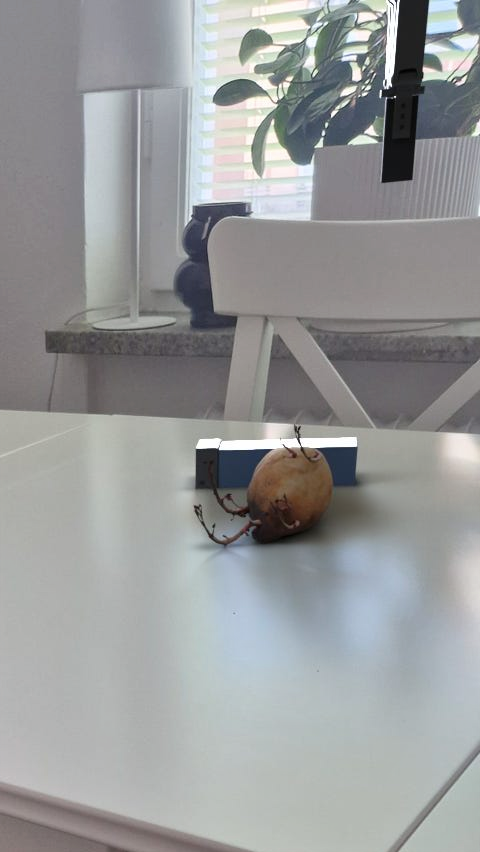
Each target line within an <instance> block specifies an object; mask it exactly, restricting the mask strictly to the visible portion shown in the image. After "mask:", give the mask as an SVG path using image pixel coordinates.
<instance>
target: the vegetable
mask: <svg viewBox="0 0 480 852" xmlns="http://www.w3.org/2000/svg"><path fill="white" fill-rule="evenodd" d="M301 428H302V425H299V426H297V425H296V424H295V423H294V424H293V430H294V434H295V439H296V440H297V442H298V443H299V445H300V447H296V446H294V447H287V446H285V444H284V443H282V440H283V439H282V437H280V439H279V440H280V442H281V444H282V446H284V447H278V448H275V449H273V450H272V451H270V452H269V453H268V454H267V455H266V456H265V457H264V458H263V459H262V460H261V462H260V463H259V464H258V465H257V467H256V469H255V471H254V474H253V478H252V480H251V482H250V484H249V486H248V488H247V493H246V506H240V505H238V504H236V503H235V501H234V498H233V497H232V495H233V493H230V492H228V493H225V494H224V495H223V497H222V498H221V496H220V493H219V491H218V488H216V485H215V481H214V478H213V471H212V464H213V463H214V460H212V461H210V462H209V467H208V466H207V465H206V464H207V463H208V462H206V461H202V463H204V464H205V466H206V467H207V469H208V470H209V475H208V479H210V478H211V483H212V485H213V488H212V487H211V486H210V485H209V484H206V483H205V482H204V481H203V480H201V481H200V483H199V485H208V486H210V487H211V488H212V489H211V490H212V492H213V496H215V499H216V501H217V503H218V504H219V506H220V508H222V509H223V510H224V512H225V513H227V514H230V515H232V518H231V519H230V520H229V521H230V522H233V520H234V519H235V516H239V517H240V518H244V519H245V518H247V515H248V517H249V518H250V519H249V520H248V522H247V523H246V524H245V525H244V526H243V527H242V528H241V529H240V530H239V531H238V532H237V533H236V534H234V535H233V536H229V537H228V536H227V535H225V534H222V537H223V538H225V539H219V538H217V537H216V536H215V535H214V533H215V528H216V523H213V524H212V526H211V528H212V532H210V530H209V529H208V527H207V525H206V522H205V521H204V518H203V507H202V506H203V505H202V504H201V503H199V504H198V505H195V504H194V505H192V506H193V508H194V509H193V511H194V513H195V515H196V518H197V519H198V521H199V522H200V524H201V525H202V527H203V529H204V530H205V532H206V534H207V537H208V538H209V539H210V540H211V541H212V542H214V543H216V544H218V545H222V546H224V547H225V548H226V547H227V546H228V545H230V544H232V543H233V542H235V541H236V540H238V539H239V538H240V537H242V536H243V535H244V534H245V536H246V537H250V534H249V532H250V529H251V528H252V527H254V528H253V529H252V530H251V537H252V539H253V540H254V541H256V542H257V543H258V544H269V543H270V542H272V541H274V540H275V539H277V538H282V537H287V536H291V535H295V534H299V533H302V532H304V531H306V530H308V529H309V528H311V527H313V525H315V524H316V523H317V522H318V521H320V519H321V518H322V517H323V515H324V513H325V512H326V510H327V508H328V506H329V504H330V502H331V498H332V496H333V490H334V486H333V480H332V474H331V470H330V468H329V465H328V463H327V461H326V459H325V457H324V456H323V454H322V453H321V452H320V451H318V450H317V449H315V448H313V447H310V446H302V443H301V440H300V439H302V438H301V433H300V431H301ZM210 468H211V469H210ZM225 499H226V501H229V502H230V501H231V502H232V504H233V505H234V506H235V507H236V508H239V509H232V508H229V507H228V506H226V504H225V501H224V500H225Z"/></svg>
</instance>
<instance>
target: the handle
mask: <svg viewBox="0 0 480 852" xmlns="http://www.w3.org/2000/svg"><path fill="white" fill-rule="evenodd" d="M281 440H282V443H284V444H285V446H287V447H294V446H296V447H300V445H299V443H298V442H297V440H296V438H293V439H292V438H291V439H281ZM300 440H301V443H302V446H310V447H313V448H315V449H317V450H318V451H320V452H321V453H322V454H323V456H324V457H325V459H326V461H327V463H328V465H329V468H330V470H331V474H332V480H333V487H349V486H352V487H353V486H356V475H357V474H356V473H357V460H358V445H359V444H358V438H357V437H329V438H328V437H327V438H326V437H325V438H301V439H300ZM278 447H284V446H282V444H281V442H280V439H258V440H257V439H256V440H255V439H254V440H253V439H252V440H223V441H222V438H203V439H199V440H198V442H197V445H196V448H195V477H194V479H195V480H194V481H195V486H194V487H195V490H207V489H209V490H212V488H213V485H212V483H211V478H210V479H208V475H209V470H208V469H207V467H206V466H205V464H204V463H202V461H206V462H208V463H207V464H206V465H207V466H208V467H209V462H210V461H212V460H214V463H213V464H212V471H213V478H214V481H215V485H216V488H217V489H243V488H244V489H245V488H247V489H248V486H249V484H250V482H251V480H252V478H253V474H254V471H255V469H256V467H257V465H258V464H259V463H260V462H261V460H262V459H263V458H264V457H265V456H266V455H267V454H268V453H269V452H270V451H272V450H273V449H275V448H278ZM210 469H211V468H210ZM201 480H203V481H204V482H205V483H206V484H209V485H210V486H211V487H212V488H211V487H210V486H208V485H199V483H200V481H201Z"/></svg>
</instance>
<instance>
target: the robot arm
mask: <svg viewBox="0 0 480 852" xmlns="http://www.w3.org/2000/svg"><path fill="white" fill-rule="evenodd" d="M385 1H386V3H387V5H388V14H387V15H388V17H387V18H388V19H387V38H386V39H387V40H386V43H387V44H386V60H385V61H386V63H385V78H384V80H383V87H384V88H383V89H380V91H379V98H380V99H385V100H384V114H383V131H382V146H381V147H382V148H381V163H380V176H379V177H380V178H379V183H380V184H387V183H388V184H389V183H397V182H409V181H413V179H414V165H415V154H416V140H417V139H416V138H417V127H418V113H419V98H420V95H425V90H426V86H425V85H421V84H422V83H423V80H424V76H425V74H424V73H425V71H424V62H425V61H424V60H425V51H426V39H427V32H428V31H427V29H428V19H429V9H430V8H429V7H430V0H385Z"/></svg>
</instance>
